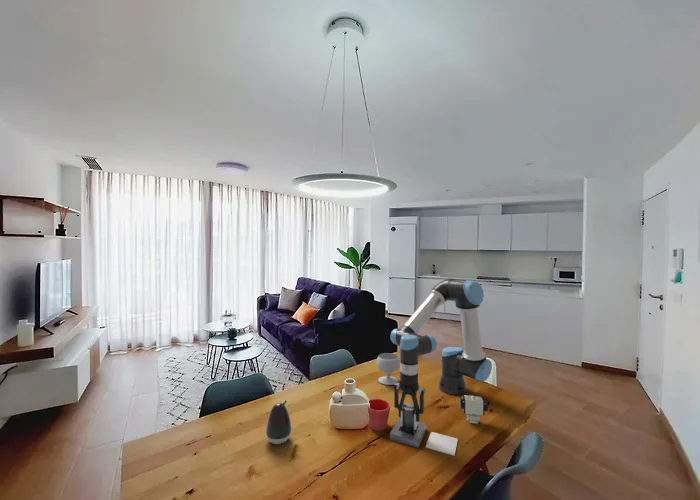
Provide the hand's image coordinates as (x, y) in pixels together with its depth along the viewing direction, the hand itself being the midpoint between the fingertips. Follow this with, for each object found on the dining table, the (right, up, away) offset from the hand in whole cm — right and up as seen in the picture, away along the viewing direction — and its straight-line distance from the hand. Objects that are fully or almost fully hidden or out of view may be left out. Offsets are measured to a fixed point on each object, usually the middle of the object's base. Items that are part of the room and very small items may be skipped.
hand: (408, 426), depth 131 cm
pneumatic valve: (+32, -4, +10) cm, 33 cm away
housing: (0, -3, 0) cm, 3 cm away
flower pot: (-13, -4, +6) cm, 15 cm away
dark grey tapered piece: (-55, -3, -4) cm, 55 cm away
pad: (+12, -3, -6) cm, 14 cm away
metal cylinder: (0, -3, 0) cm, 3 cm away
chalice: (-2, -3, +52) cm, 52 cm away
